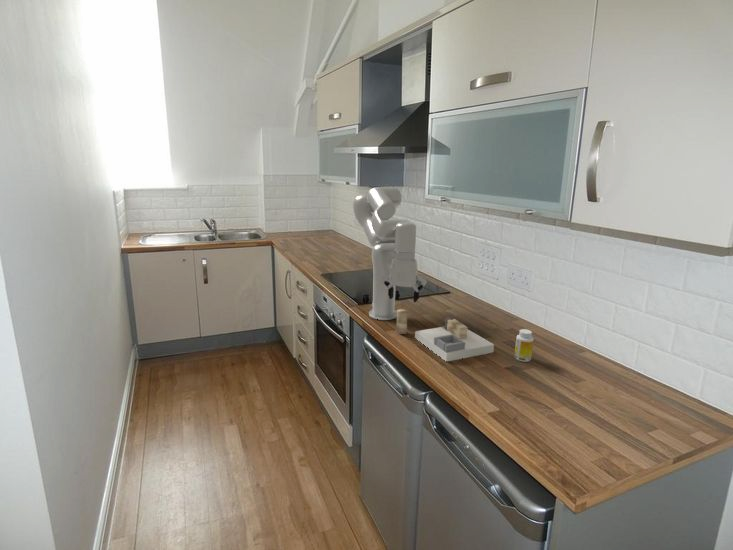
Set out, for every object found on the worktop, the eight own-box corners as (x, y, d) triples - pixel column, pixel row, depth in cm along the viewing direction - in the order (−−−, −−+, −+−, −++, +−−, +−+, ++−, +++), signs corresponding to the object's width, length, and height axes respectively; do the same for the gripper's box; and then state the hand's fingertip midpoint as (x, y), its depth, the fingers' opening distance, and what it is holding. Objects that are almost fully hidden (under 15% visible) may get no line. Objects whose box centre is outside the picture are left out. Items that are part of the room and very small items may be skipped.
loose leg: (394, 331, 176) (395, 310, 173) (403, 330, 177) (404, 308, 175) (399, 335, 172) (400, 313, 170) (408, 333, 174) (409, 312, 171)
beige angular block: (443, 327, 172) (443, 317, 171) (450, 326, 174) (451, 316, 173) (459, 338, 162) (460, 328, 161) (467, 337, 163) (467, 327, 162)
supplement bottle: (534, 360, 153) (538, 332, 150) (523, 363, 150) (526, 335, 148) (521, 354, 158) (525, 327, 155) (510, 357, 155) (513, 329, 152)
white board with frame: (414, 338, 169) (415, 325, 168) (458, 331, 177) (459, 318, 176) (446, 361, 151) (447, 346, 149) (493, 352, 159) (494, 338, 157)
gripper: (379, 255, 166) (378, 299, 170) (425, 259, 160) (423, 305, 164) (386, 252, 173) (384, 294, 177) (429, 255, 167) (427, 299, 171)
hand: (403, 299), depth 171 cm, fingers open, 9 cm apart
